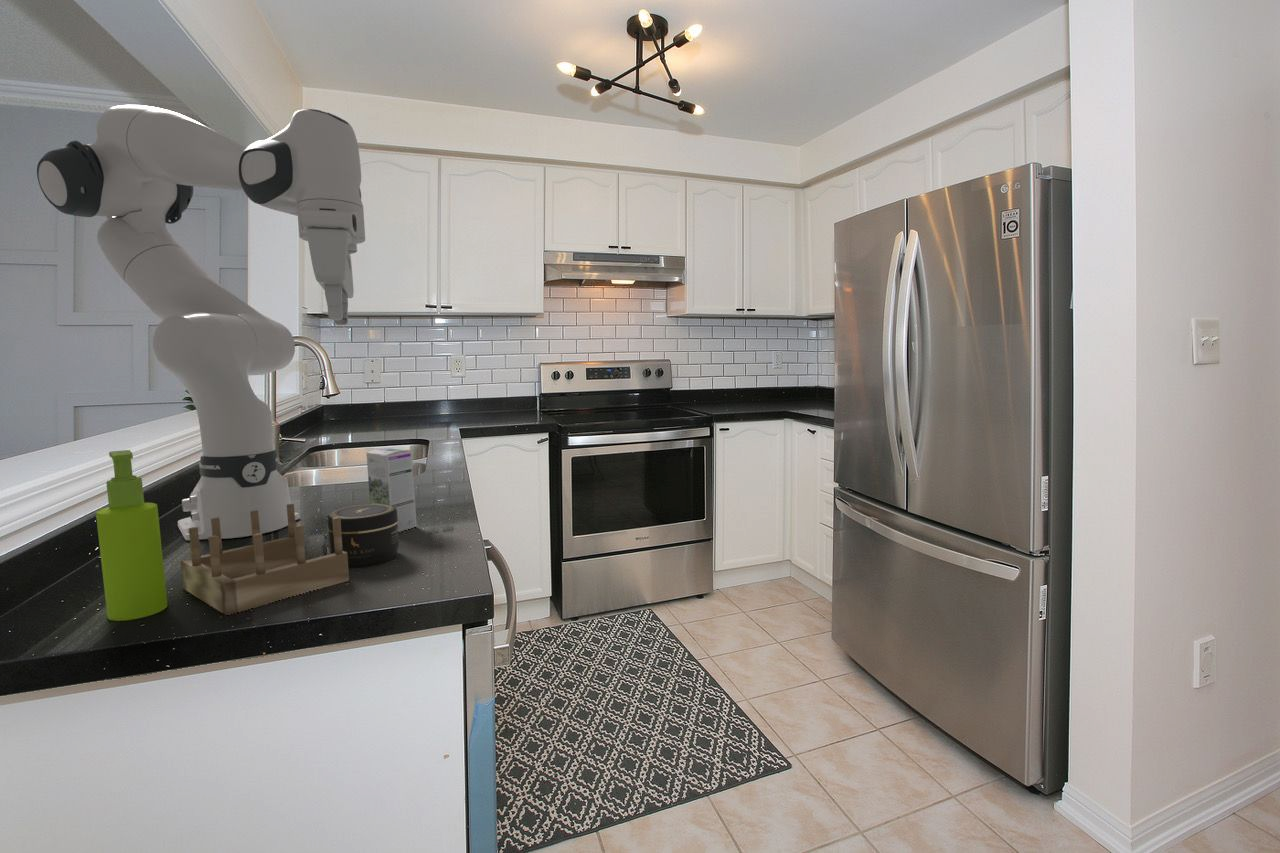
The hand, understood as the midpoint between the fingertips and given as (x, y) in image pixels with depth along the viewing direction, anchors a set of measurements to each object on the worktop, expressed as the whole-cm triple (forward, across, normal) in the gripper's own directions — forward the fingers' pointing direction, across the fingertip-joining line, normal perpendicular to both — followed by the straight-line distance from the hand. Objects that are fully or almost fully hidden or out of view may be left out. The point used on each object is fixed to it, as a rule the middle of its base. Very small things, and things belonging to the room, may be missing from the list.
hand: (338, 322), depth 95 cm
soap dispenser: (+37, +11, -24) cm, 45 cm away
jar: (+36, 0, +1) cm, 36 cm away
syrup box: (+36, -17, +6) cm, 40 cm away
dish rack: (+36, +6, -10) cm, 38 cm away
